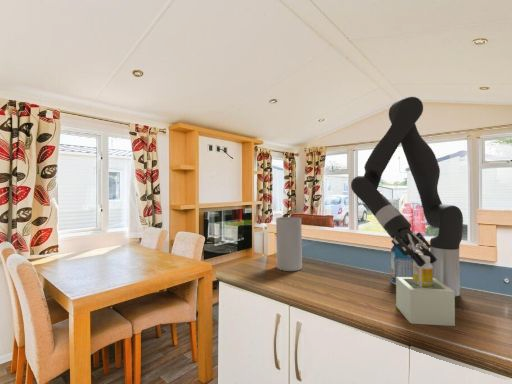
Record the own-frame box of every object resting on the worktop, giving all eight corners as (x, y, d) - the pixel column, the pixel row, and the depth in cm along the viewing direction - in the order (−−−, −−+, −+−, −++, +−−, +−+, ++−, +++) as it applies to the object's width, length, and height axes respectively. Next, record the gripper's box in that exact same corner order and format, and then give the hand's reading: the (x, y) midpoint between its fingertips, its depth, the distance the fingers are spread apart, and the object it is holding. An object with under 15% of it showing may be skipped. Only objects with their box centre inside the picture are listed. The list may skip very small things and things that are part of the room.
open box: (396, 306, 95) (396, 276, 95) (434, 308, 94) (434, 278, 94) (410, 323, 84) (410, 289, 83) (454, 325, 82) (454, 291, 82)
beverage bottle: (403, 288, 112) (402, 237, 112) (386, 281, 120) (385, 234, 120) (418, 285, 115) (418, 236, 115) (400, 279, 123) (400, 233, 123)
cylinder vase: (272, 266, 145) (271, 218, 145) (292, 263, 151) (291, 216, 150) (286, 273, 134) (285, 220, 134) (307, 269, 140) (306, 218, 139)
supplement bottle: (410, 287, 89) (410, 256, 88) (415, 282, 92) (415, 253, 92) (430, 291, 85) (430, 259, 85) (434, 286, 89) (434, 256, 88)
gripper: (386, 215, 91) (425, 260, 81) (412, 212, 98) (450, 253, 88) (372, 229, 95) (407, 274, 85) (397, 226, 103) (432, 266, 93)
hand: (428, 263), depth 87 cm, fingers open, 6 cm apart
